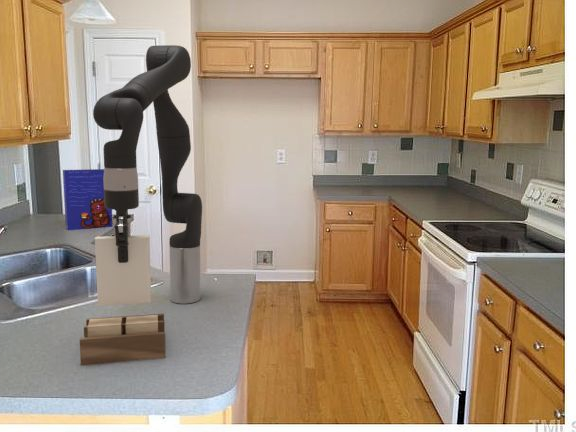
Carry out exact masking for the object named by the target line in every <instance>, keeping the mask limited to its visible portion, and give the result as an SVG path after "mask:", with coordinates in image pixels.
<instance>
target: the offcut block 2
mask: <svg viewBox="0 0 576 432" xmlns="http://www.w3.org/2000/svg"><path fill="white" fill-rule="evenodd" d="M146 315H147V316H136V315H131V316H132V317H127V318H126V335H129V334H143V333H156V332H158V315H151V314H146Z"/></svg>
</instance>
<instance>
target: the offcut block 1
mask: <svg viewBox="0 0 576 432" xmlns="http://www.w3.org/2000/svg"><path fill="white" fill-rule="evenodd" d="M116 317H117V318H106V317H101V318H102V319H91V318H89V319H90V321H89V324H88V327H87V328H88V338H90V337H103V336H116V335H123V329H122V317H121V316H116Z"/></svg>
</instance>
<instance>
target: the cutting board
mask: <svg viewBox="0 0 576 432" xmlns="http://www.w3.org/2000/svg"><path fill="white" fill-rule="evenodd" d="M150 239H151V238H150V234H147V235H146V234H143V235H142V234H141V235H140V234H139V235H130V236H129V237H128V243H129V245H128V262H127V263H119V262H118V247H117V246H116V237H115V236H114V235H110V236H109V235H108V236H104V235H103V236H95V238H94V251H95V273H96V274H95V276H96V293H97V300H96V301H97V307H104V306H105V307H106V306H115V305H116V306H119V305H134V304H151V303H152V279H151V278H152V277H151V240H150ZM119 241H125V239H124V238H123V239H119Z"/></svg>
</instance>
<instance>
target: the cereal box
mask: <svg viewBox="0 0 576 432" xmlns="http://www.w3.org/2000/svg"><path fill="white" fill-rule="evenodd" d="M103 176H104V168H101V169H99V168H98V169H96V168H95V169H93V168H92V169H91V168H90V169H88V168H87V169H62V177H63V180H62V181H63V182H62V183H63V200H64V218H65V220H64V221H65V229H66V230H67V231H74V230H75V231H77V230H88V229H102V228H114V225H113V210H111V209H107V208H105V206H104V181H103Z"/></svg>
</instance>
